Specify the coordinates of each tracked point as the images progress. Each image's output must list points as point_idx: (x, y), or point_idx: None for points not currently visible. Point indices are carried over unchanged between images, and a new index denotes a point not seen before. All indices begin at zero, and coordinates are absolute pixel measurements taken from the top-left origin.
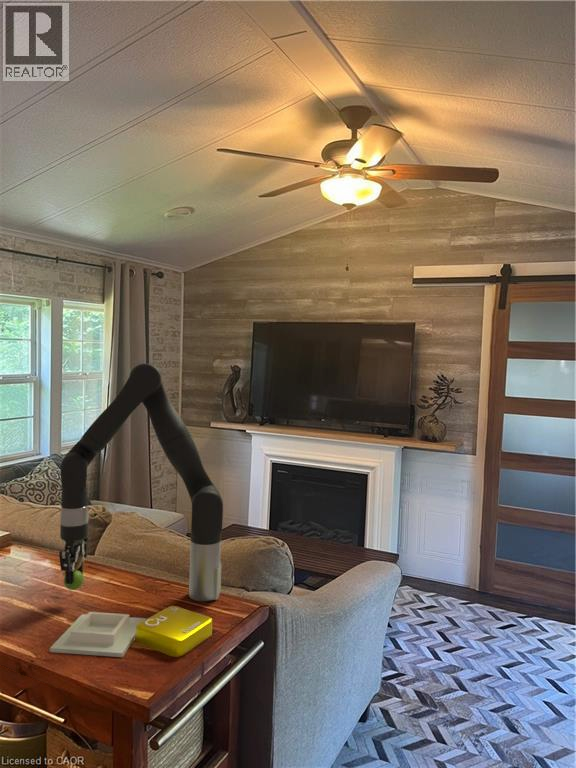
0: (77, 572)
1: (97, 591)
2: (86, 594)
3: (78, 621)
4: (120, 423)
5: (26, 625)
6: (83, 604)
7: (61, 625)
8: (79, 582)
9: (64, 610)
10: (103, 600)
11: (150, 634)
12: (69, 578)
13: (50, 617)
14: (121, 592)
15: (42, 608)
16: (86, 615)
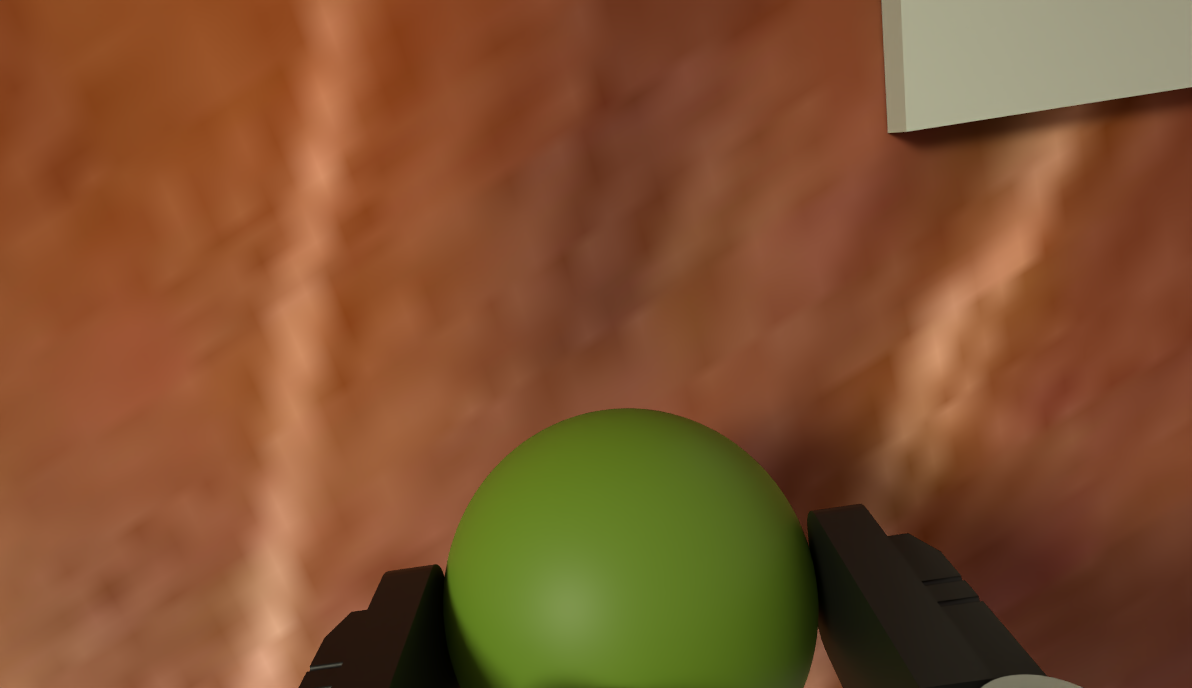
0: (659, 617)
1: (187, 360)
2: (313, 435)
3: (1111, 55)
4: None
5: (1142, 580)
6: (562, 318)
7: (1103, 252)
8: (706, 433)
9: (758, 431)
10: (381, 143)
11: None
12: (971, 604)
13: (942, 471)
14: (71, 37)
15: None
16: None
